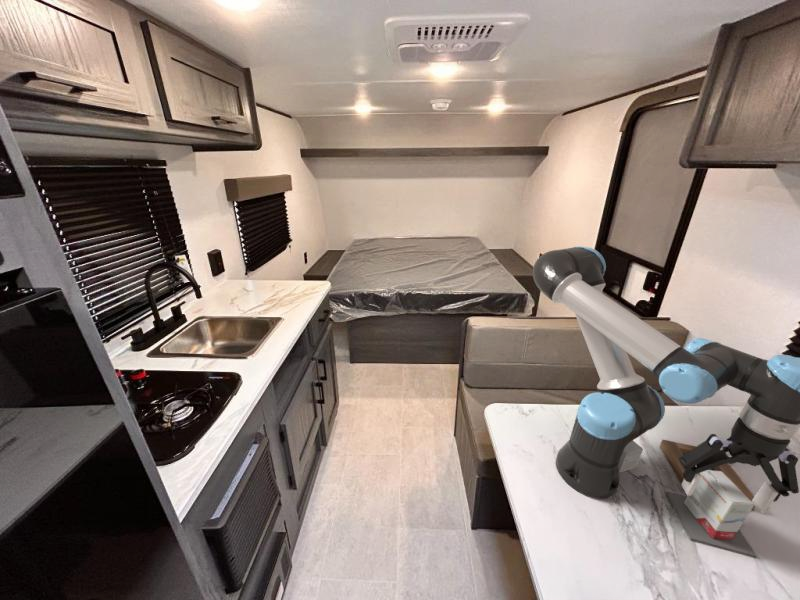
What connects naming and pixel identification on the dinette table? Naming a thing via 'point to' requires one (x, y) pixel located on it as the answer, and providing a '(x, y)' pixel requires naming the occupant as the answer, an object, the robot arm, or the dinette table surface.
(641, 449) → the product box
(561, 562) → the dinette table surface
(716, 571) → the dinette table surface
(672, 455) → the wooden holder frame
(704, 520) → the ink box
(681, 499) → the mat
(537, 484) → the dinette table surface
